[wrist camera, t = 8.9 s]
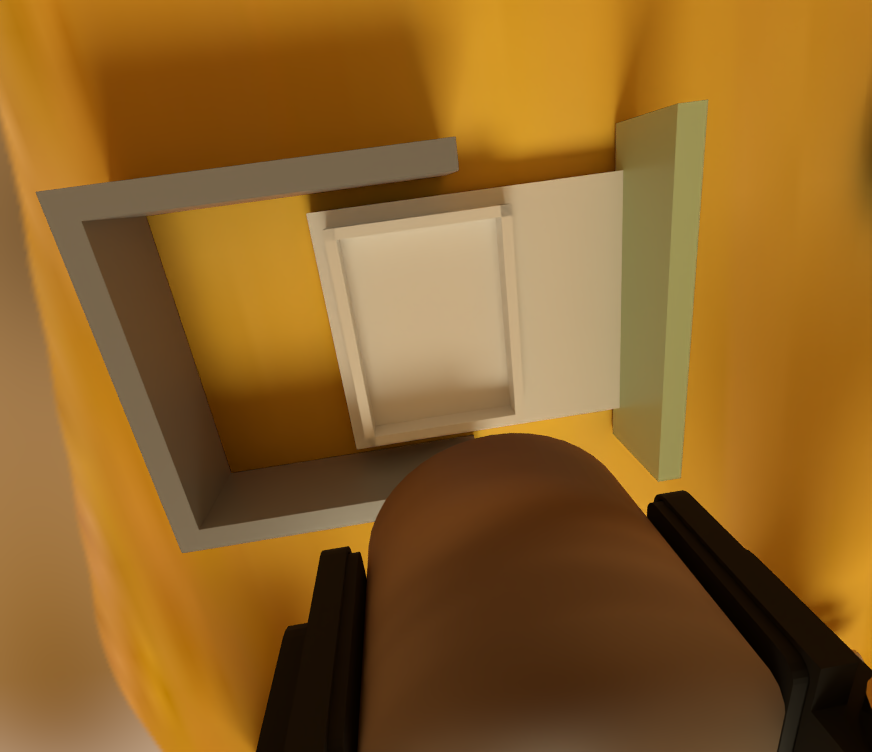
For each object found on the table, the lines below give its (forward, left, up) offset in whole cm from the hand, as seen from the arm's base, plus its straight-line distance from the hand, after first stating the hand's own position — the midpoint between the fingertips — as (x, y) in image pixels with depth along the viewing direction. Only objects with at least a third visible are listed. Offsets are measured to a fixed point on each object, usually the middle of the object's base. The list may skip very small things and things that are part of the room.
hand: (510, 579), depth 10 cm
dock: (+7, 0, -22) cm, 23 cm away
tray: (-3, 0, -22) cm, 22 cm away
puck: (0, 0, -1) cm, 1 cm away
